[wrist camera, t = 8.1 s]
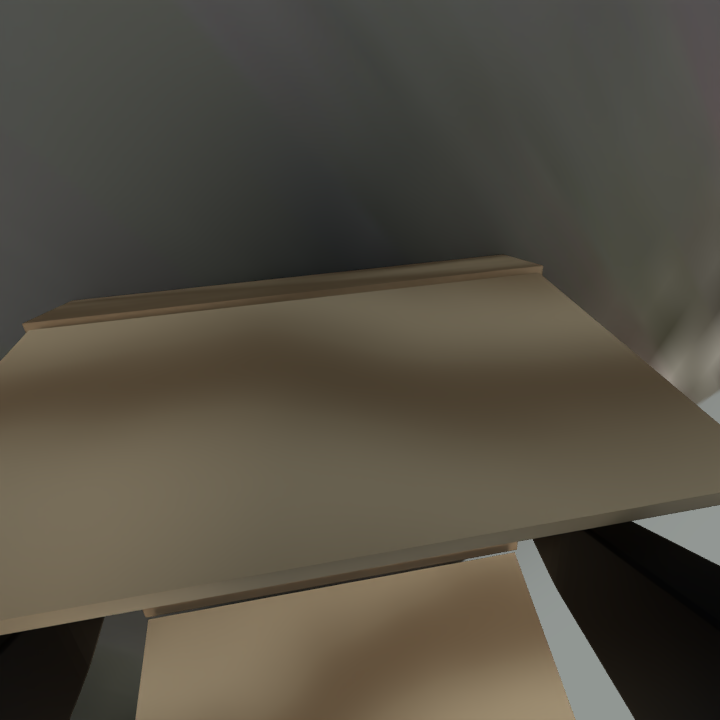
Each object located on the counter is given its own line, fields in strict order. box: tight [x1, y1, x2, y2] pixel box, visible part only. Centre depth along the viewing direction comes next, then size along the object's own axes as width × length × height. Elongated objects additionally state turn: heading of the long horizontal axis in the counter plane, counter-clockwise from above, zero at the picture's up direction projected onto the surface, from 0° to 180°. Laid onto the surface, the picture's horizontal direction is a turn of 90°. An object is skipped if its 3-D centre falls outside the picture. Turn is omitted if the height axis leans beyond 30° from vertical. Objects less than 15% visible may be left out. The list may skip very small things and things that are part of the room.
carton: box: [22, 254, 543, 617], centre depth 16 cm, size 13×16×3 cm
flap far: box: [136, 552, 575, 720], centre depth 15 cm, size 8×15×1 cm
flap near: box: [0, 273, 720, 635], centre depth 9 cm, size 8×15×1 cm
